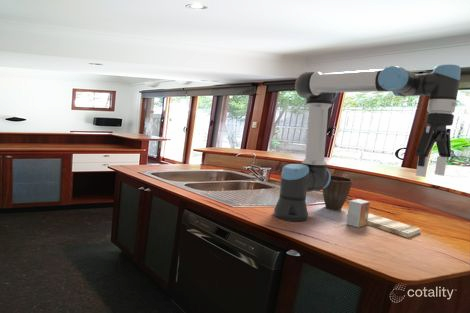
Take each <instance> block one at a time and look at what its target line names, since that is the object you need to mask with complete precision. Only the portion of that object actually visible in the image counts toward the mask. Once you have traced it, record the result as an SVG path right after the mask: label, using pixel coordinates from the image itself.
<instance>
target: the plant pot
mask: <svg viewBox="0 0 470 313" xmlns="http://www.w3.org/2000/svg"><path fill="white" fill-rule="evenodd" d="M353 182H354V181H353V179H351V178H348V177H344V176H338V175H331V180H330V183H329V185H328V186H327V187H326V188H325V189H323V190H322V195H323V201H324V205H325V208H326V209H328V210H331V211H341V210H342V208H343V206H344V204H345V203H346V200H347V198H348V196H349V193H350V191H351V188H352V184H353Z"/></svg>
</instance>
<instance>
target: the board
mask: <svg viewBox="0 0 470 313" xmlns="http://www.w3.org/2000/svg"><path fill="white" fill-rule="evenodd" d="M367 225H368V226H370V227H374V228H377V229H379V230H383V231H386V232H389V233H391V234H396V235H398V236H401V237H404V238H407V239H409V238H411V237H413V236H415V235H418V234H420V232H421V228H420V227H417V226H414V225H411V224H410V225H409V224H406V223H403V222H399V221H398V220H397V221H396V220H393V219H389V218H386V217H383V216H379V215H376V214H373V213H368V220H367ZM367 225H366V226H367Z"/></svg>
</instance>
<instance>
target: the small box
mask: <svg viewBox="0 0 470 313" xmlns="http://www.w3.org/2000/svg"><path fill="white" fill-rule="evenodd" d="M370 206H371V201H368V200H364V199H360V198H357V199H352V200H349V201H348V208H347V216H346V225H350V226H352V227H356V228H360V227H363V226H367V220H368V214H369V211H370Z"/></svg>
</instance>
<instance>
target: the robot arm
mask: <svg viewBox="0 0 470 313" xmlns="http://www.w3.org/2000/svg"><path fill="white" fill-rule="evenodd" d="M461 70H462V68H461V66H459V65H457V64H449V63H448V64H441V65H435V67H434V68H433V71H432V72H429V73H427V72H426V73H414V72H413V71H409V70H407V69H405V68H403V67H402V66H399V65H398V66H397V65H388V66H387V67H384V68H383V69H382V68H381V69H369V70H368V69H367V70H366V69H365V70H355V71H340V72H328V73H326V72H325V73H322V72H320V71H305V72H303V73H301V74H300V75H298V76H297V78H296V80H295V83H294V89H295V92H296V94H297V95H298V96H299V97H300V98H303V99H306V103H305V105H306V106H307V108H308V121H307V133H306V134H307V135H306V146H305V159H304V160H302V161H301V163H289V164H285V165H284V166H282V168H281V169H282V170H281V174H280V186H279V197H278V200H277V202H276V206H274V209H273V215H274V217H276V218H278V219H281V220H284V221H288V222H305V221H307V220H309V212H308V208H307V203H306V201H307V200H306V199H307V198H306V197H307V193H310V192H319V191H321V190H322V191H323V189H325V188H326V187H327V186H328V185H329V183H330V180H331V176H332V175H331V172H330V171H329V169H328V163H327V162H326V161H325V151H326V141H327V130H328V129H327V127H328V116H329V109H330V108H331V107H332V106H333V101H334V100H335V98H337V96H338V94H339V93H366V92H367V93H369V92H371V93H372V92H374V93H375V92H383V93H384V92H392V94H393V95H394V96H395V97H403V98H404V97H418V96H419V97H420V96H422V97H423V96H429V97H428V102H427V108H426V112H428V113H426V116H425V125H427V126H424V127H423V131H422V134H421V137H420V138H419V142H418V144H417V147H416V149H415V151H414V152H415V153H414V154H415V155H414V156H416V157H417V158H418V159H417V165H416V171H415V172H416V173H415V176H417V177H422V178H423V177H424V178H426V176H427V170H428V163H429V157H428V155H429V154H430V152H431V150H432V149H433V146H434V145H435V143H436V148H437V151H438V155H439V156H437V158H436V162H435V168H434V169H435V170H434V174H435V175H437V176H445V174H446V167H447V159H448V158H451V156H452V148H451V128H447V126H448V127H450V126H453V123H454V118H455V114H453V113H455V111H456V106H458V103H457V98H458V93H459V87H460V82H461V72H462V71H461Z"/></svg>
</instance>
